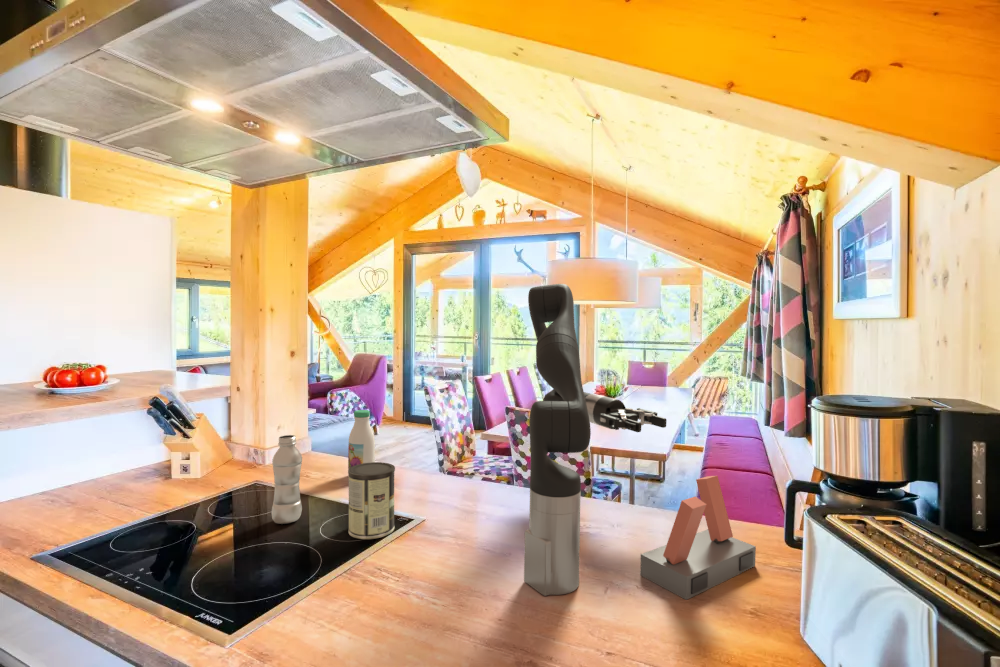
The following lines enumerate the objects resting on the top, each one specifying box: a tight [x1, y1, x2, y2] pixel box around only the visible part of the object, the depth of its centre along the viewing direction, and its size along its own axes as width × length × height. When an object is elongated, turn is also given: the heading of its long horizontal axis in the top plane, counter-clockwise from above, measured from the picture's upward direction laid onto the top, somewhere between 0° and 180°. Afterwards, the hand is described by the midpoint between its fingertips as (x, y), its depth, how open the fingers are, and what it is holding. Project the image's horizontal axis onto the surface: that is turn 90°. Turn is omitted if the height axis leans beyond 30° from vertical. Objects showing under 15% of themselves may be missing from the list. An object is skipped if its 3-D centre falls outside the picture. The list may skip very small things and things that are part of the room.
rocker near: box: [663, 496, 707, 565], centre depth 91 cm, size 4×3×12 cm, turn 124°
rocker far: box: [695, 475, 734, 543], centre depth 103 cm, size 4×2×12 cm, turn 124°
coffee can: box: [347, 461, 396, 540], centre depth 114 cm, size 10×10×14 cm
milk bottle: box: [347, 409, 376, 477], centre depth 152 cm, size 8×8×20 cm
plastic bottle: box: [271, 434, 303, 525], centre depth 118 cm, size 6×7×20 cm
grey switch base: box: [640, 528, 757, 601], centre depth 97 cm, size 22×10×4 cm, turn 124°
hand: (653, 425), depth 115 cm, fingers open, 8 cm apart
